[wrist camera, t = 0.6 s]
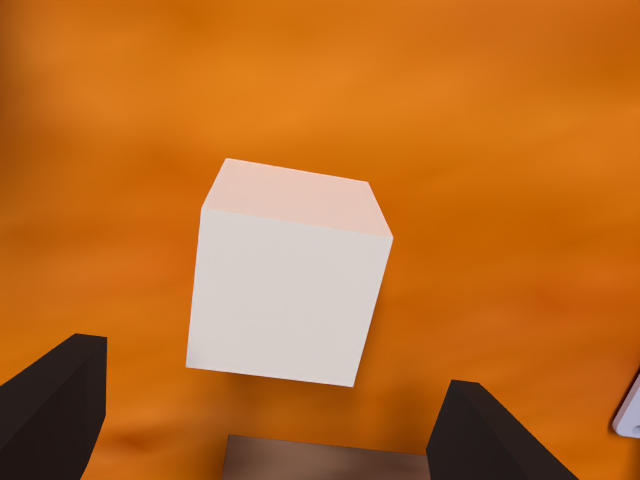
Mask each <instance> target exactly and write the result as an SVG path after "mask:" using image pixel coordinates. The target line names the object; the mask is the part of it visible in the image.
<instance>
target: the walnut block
mask: <svg viewBox="0 0 640 480" xmlns="http://www.w3.org/2000/svg"><path fill="white" fill-rule="evenodd" d="M222 480H431V478H430V472H429V466H428V460H427V456H426V455H416V454H407V453H397V452H388V451H378V450H369V449H359V448H350V447H340V446H331V445H321V444H312V443H302V442H293V441H283V440H274V439H264V438H255V437H245V436H236V435H229V436H228V442H227V448H226V455H225V461H224V468H223V474H222Z"/></svg>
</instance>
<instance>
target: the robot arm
mask: <svg viewBox="0 0 640 480" xmlns="http://www.w3.org/2000/svg"><path fill="white" fill-rule="evenodd" d="M106 368H107V337H101V336H93V335H85V334H76V333H75V334H74V335H72V336H71V337H69V338H68V339H66V340H65V341H64V342H62V343H61V344H59V345H58V346H56V347H55V348H54V349H52V350H51V351H49V352H48V353H47V354H45V355H44V356H42V357H41V358H40V359H38V360H37V361H36V362H34V363H33V364H31V365H30V366H29V367H27V368H26V369H24V370H23V371H22V372H20V373H19V374H17V375H16V376H15V377H13V378H12V379H10V380H9V381H7V382H6V383H4V384H3V385H1V386H0V480H80V479H81V477H82V475H83V473H84V471H85V469H86V467H87V464H88V462H89V459H90V457H91V454H92V451H93V449H94V446H95V444H96V441H97V438H98V435H99V433H100V430H101V427H102V424H103V422H104V419H105V416H106ZM612 426H613V429H614V430H615V431H616V433H617V434H618V435H621V436H626V437H635V438H640V374H639V376H638V378H637V380H636V381H635V383H634V385H633V387H632V389H631V390H630V392H629V394H628V396H627V398H626V399H625V401H624V403H623V405H622V407H621V408H620V410H619V412H618V414H617V416H616V417H615V419H614V421H613V424H612ZM426 454H427V460H428V466H429V472H430V478H431V480H579V479H578V478H577V477H576V476H575V475H574V474H572V473H571V472H570V471H569V470H568V469H567V468H566V467H565V466H564V465H563V464H562V463H561V462H560V461H559V460H558V459H557V458H555V457H554V456H553V455H552V454H551V453H550V452H549V451H548V450H547V449H546V448H545V447H544V446H543V445H542V444H541V443H540V442H539V441H538V440H537V439H536V438H535V437H534V436H533V435H532V434H531V433H530V432H529V431H528V430H527V429H526V428H525V427H524V426H523V425H522V424H521V423H520V422H519V421H518V420H517V419H516V418H515V417H514V416H513V415H512V414H511V413H510V412H509V411H508V410H507V409H506V408H505V407H504V406H503V405H502V404H501V403H500V402H499V401H498V400H496V399H495V398H494V397H493V396H492V395H491V394H490V393H489V392H488V391H487V390H486V389H485V388H484V387H483V386H481V385H480V384H479V383H476V382H468V381H460V380H451V383H450V385H449V388H448V391H447V393H446V396H445V399H444V402H443V404H442V407H441V410H440V412H439V415H438V418H437V421H436V423H435V426H434V429H433V431H432V434H431V437H430V440H429V442H428V445H427V448H426Z"/></svg>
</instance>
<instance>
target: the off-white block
mask: <svg viewBox="0 0 640 480" xmlns="http://www.w3.org/2000/svg"><path fill="white" fill-rule="evenodd" d="M392 241H393V236H392V234H391V232H390V230H389V227H388V225H387V223H386V221H385V219H384V216H383V214H382V212H381V210H380V208H379V205H378V203H377V201H376V199H375V197H374V194H373V192H372V190H371V188H370V186H369V184H368V182H364V181H359V180H353V179H347V178H341V177H335V176H329V175H323V174H318V173H312V172H306V171H300V170H294V169H288V168H283V167H277V166H271V165H265V164H259V163H253V162H247V161H242V160H236V159H230V158H226V159H225V161H224V163H223V165H222V167H221V169H220V171H219V173H218V176H217V178H216V180H215V182H214V184H213V186H212V188H211V190H210V192H209V194H208V196H207V198H206V200H205V202H204V204H203V206H202V209H201V219H200V229H199V239H198V249H197V259H196V269H195V279H194V289H193V299H192V309H191V319H190V329H189V339H188V349H187V359H186V367H190V368H198V369H207V370H215V371H224V372H232V373H240V374H249V375H257V376H265V377H274V378H282V379H291V380H299V381H307V382H316V383H324V384H333V385H341V386H349V387H353V385H354V381H355V377H356V374H357V370H358V366H359V363H360V359H361V355H362V352H363V348H364V344H365V341H366V337H367V333H368V330H369V326H370V322H371V318H372V315H373V311H374V307H375V304H376V300H377V296H378V293H379V289H380V285H381V282H382V278H383V274H384V271H385V267H386V263H387V260H388V256H389V252H390V249H391V245H392Z"/></svg>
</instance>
